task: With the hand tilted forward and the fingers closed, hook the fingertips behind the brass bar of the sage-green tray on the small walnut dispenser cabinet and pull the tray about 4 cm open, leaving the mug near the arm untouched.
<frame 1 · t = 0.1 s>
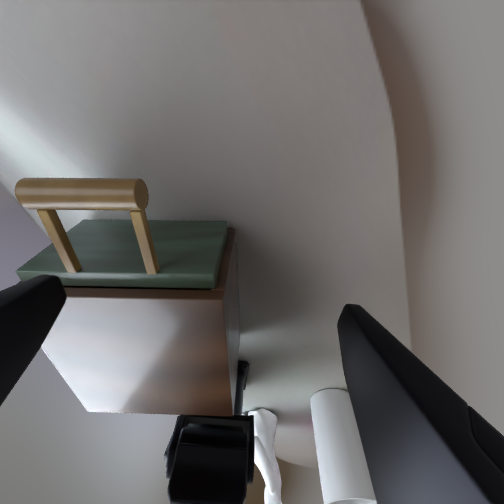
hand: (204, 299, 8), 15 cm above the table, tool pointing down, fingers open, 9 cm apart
cabinet: (174, 288, 27), on the table
figurine: (256, 414, 43), on the table
mug: (340, 396, 39), on the table
drawer: (147, 285, 21), point 5 cm above the table, slide at 0.0 cm, touching cabinet
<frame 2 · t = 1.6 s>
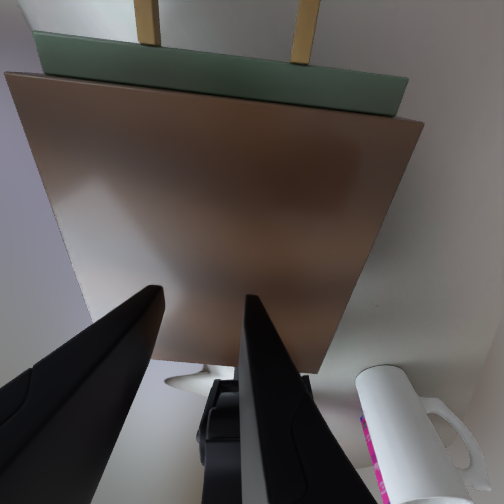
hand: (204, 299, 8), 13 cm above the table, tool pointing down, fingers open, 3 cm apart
cabinet: (232, 202, 20), on the table
supplement box: (383, 409, 37), on the table
mug: (392, 376, 33), on the table
drawer: (229, 154, 13), point 5 cm above the table, slide at 0.0 cm, touching cabinet
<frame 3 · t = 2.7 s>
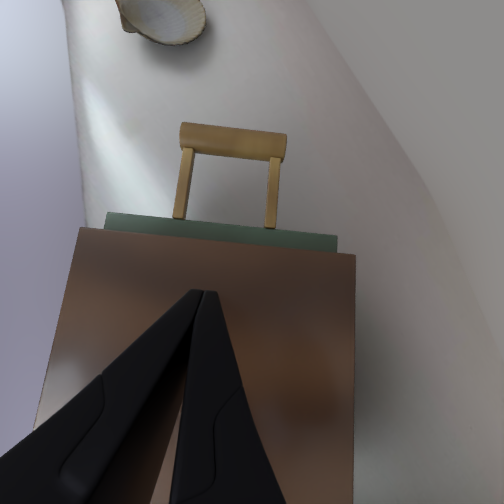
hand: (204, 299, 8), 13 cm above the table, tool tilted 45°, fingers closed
cabinet: (217, 357, 20), on the table
drawer: (220, 296, 16), point 5 cm above the table, slide at 0.0 cm, touching cabinet
seashell: (167, 31, 26), on the table
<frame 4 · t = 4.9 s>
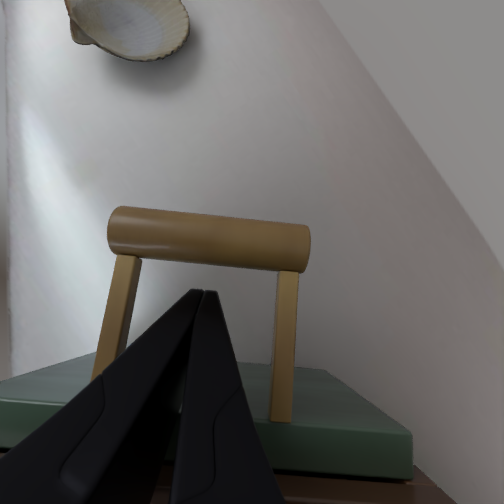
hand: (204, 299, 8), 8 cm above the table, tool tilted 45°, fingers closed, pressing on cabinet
drawer: (191, 493, 9), point 5 cm above the table, slide at 0.0 cm, touching cabinet
seashell: (140, 42, 20), on the table
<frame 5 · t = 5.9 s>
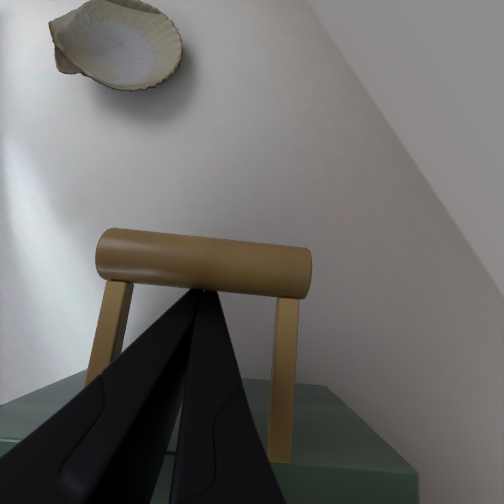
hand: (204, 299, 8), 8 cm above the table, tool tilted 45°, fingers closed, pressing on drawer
seashell: (131, 66, 19), on the table
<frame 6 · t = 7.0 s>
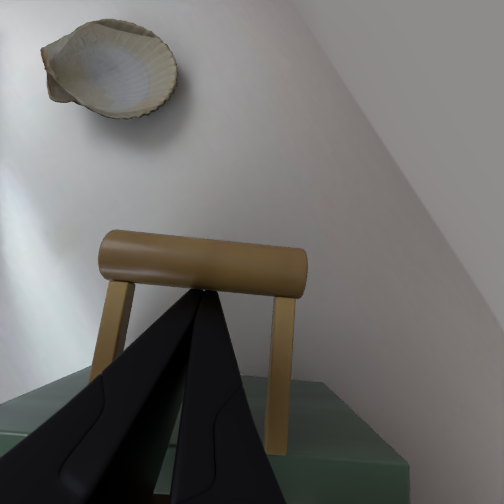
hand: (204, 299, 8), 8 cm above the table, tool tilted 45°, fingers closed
seashell: (125, 90, 19), on the table
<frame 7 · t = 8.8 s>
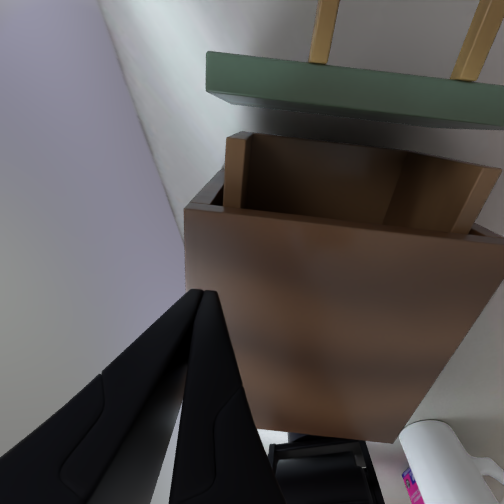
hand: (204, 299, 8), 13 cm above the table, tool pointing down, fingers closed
cabinet: (296, 267, 22), on the table
supplement box: (426, 465, 36), on the table
mug: (437, 431, 32), on the table
drawer: (337, 172, 13), point 5 cm above the table, slide at 4.1 cm
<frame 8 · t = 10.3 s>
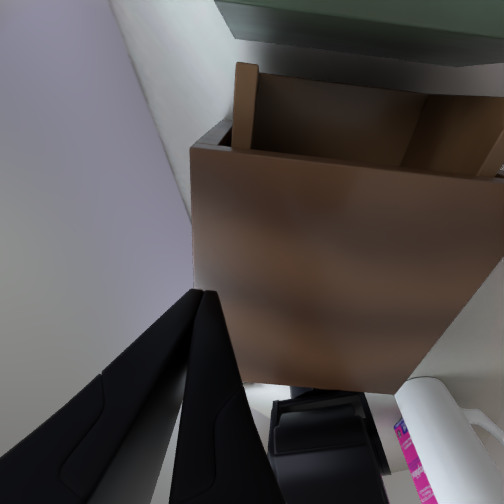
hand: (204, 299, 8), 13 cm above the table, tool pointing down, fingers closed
cabinet: (301, 228, 21), on the table
supplement box: (417, 418, 38), on the table
mug: (430, 387, 34), on the table
drawer: (353, 114, 12), point 5 cm above the table, slide at 4.1 cm
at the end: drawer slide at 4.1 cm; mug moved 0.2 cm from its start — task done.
